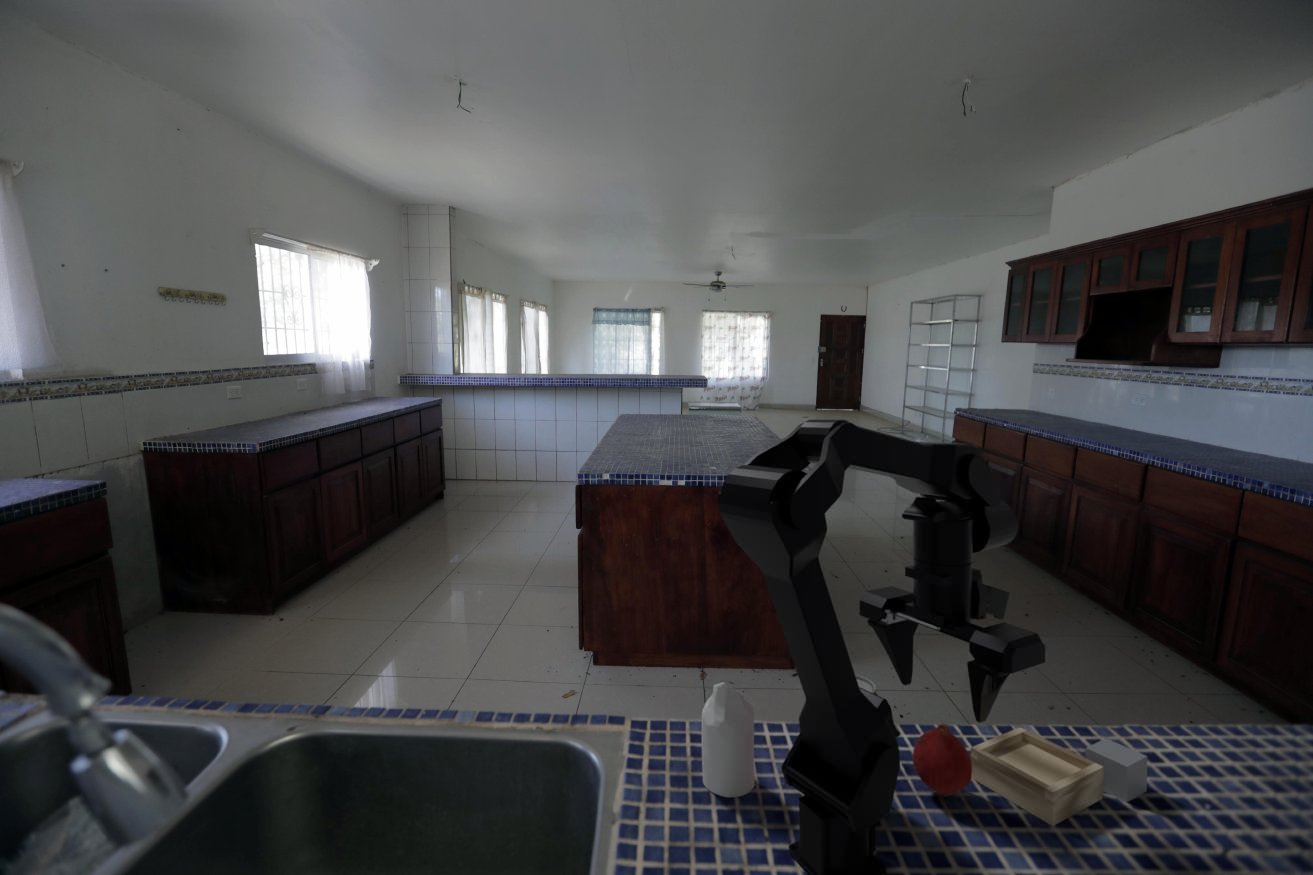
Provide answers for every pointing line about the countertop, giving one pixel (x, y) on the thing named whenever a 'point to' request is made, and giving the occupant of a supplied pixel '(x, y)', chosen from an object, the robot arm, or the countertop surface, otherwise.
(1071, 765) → the square tray
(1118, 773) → the grey cube
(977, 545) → the robot arm
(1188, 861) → the countertop surface
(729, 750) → the white plastic bottle
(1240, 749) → the countertop surface
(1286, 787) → the countertop surface
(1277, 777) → the countertop surface
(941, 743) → the red pomegranate
